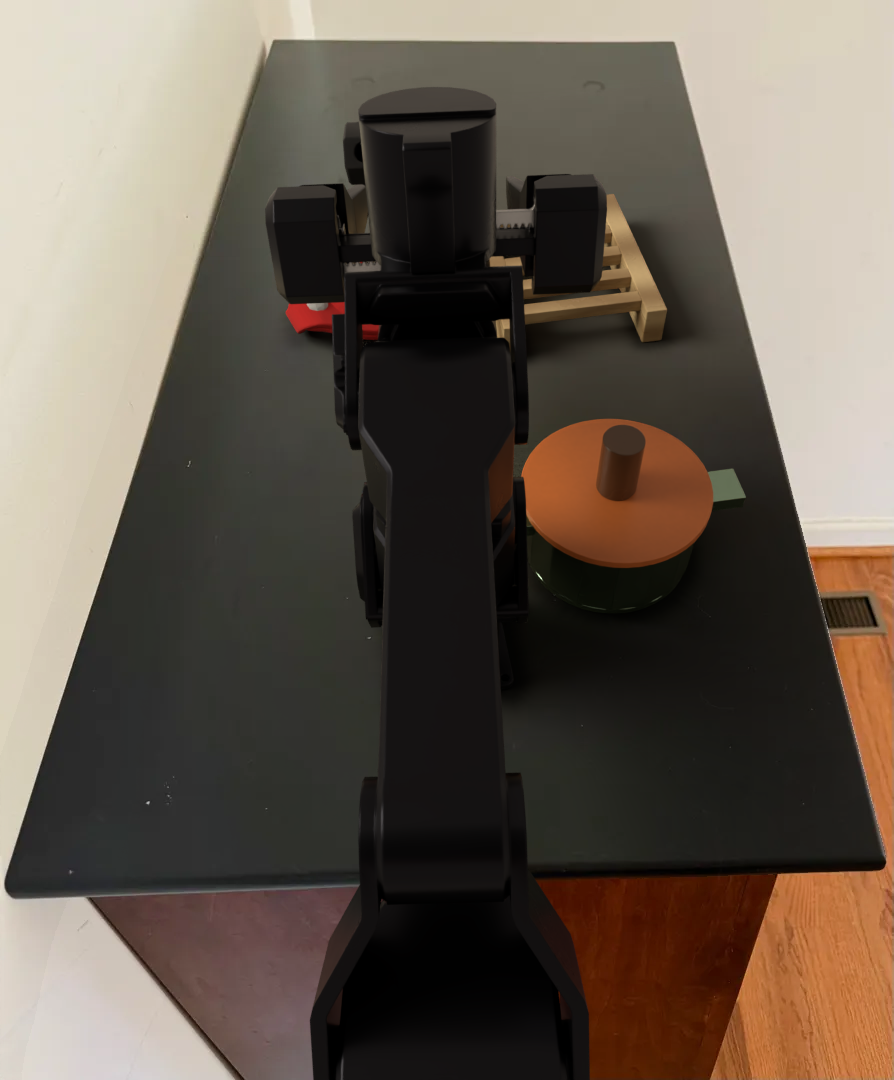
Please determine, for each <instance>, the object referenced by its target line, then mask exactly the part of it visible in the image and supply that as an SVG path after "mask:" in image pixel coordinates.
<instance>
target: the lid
mask: <svg viewBox="0 0 894 1080" xmlns="http://www.w3.org/2000/svg"><path fill="white" fill-rule="evenodd" d="M708 472H709V471H708V470H707V469H706V467H705V465H704V463H703V462H702V461H701V459H700V458H699V456H698V455H697V454H696V453H695V452H694V451H693V450H692V449H691V448H690V447H689V446H688V445H686V444H685V443H684V442H683V441H681V440H680V439H679V438H677V437H675V435H672V434H671V433H669V432H666V431H665V430H663V429H660V428H658V427H655V426H653V425H650V424H646V423H643V422H639V421H635V420H630V419H620V418H597V419H588V420H584V421H580V422H576V423H572V424H570V425H567V426H565V427H561V428H560V429H558V430H556V431H554V432H552V433H551V434H549V435H547V437H545V438H543V440H541V441H540V443H538V444H537V445H536V446H535V448H534V449H533V450H532V451H531V452H530V454H529V455H528V458H527V459H526V461H525V463H524V466H523V468H522V471H521V476H520V477H523V478H524V483H525V494H526V515H527V517H528V519H529V521H530V522H531V524H532V525H533V527H534V528H535V529H536V531H537V532H538V533H539V534H540V535H541V536H542V537H543V538H544V539H545V540H546V541H548V542H549V543H550V544H551V545H553V546H554V547H555V548H557V549H559V550H560V551H562V552H563V553H565V554H567V555H569V556H572V557H574V558H576V559H579V560H581V561H584V562H587V563H591V564H595V565H599V566H606V567H613V568H633V567H643V566H648V565H653V564H656V563H660V562H663V561H666V560H668V559H670V558H672V557H674V556H676V555H678V554H680V553H681V552H683V551H684V550H686V549H687V548H688V547H689V546H691V545H692V544H693V543H694V544H695V542H696V541H697V540H698V539H699V538H700V536H701V535H702V534H703V532H704V531H705V529H706V528H707V526H708V523H709V520H710V518H711V514H712V512H713V511H712V506H713V488H712V483H711V480H710V477H709V474H708Z"/></svg>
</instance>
